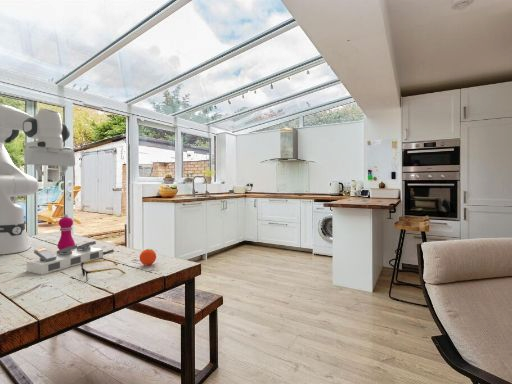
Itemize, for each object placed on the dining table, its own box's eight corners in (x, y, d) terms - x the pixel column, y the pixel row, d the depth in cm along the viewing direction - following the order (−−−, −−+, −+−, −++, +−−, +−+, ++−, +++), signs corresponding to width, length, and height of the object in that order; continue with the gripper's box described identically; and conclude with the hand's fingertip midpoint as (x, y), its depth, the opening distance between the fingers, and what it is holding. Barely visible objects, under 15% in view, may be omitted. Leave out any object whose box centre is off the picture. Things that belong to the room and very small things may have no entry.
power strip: (26, 271, 115) (26, 258, 114) (106, 250, 149) (106, 240, 148) (42, 274, 111) (42, 261, 110) (120, 252, 145) (120, 242, 145)
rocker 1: (33, 252, 117) (34, 249, 116) (43, 250, 120) (44, 247, 120) (46, 261, 114) (47, 258, 113) (56, 259, 117) (56, 256, 117)
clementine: (154, 261, 131) (154, 245, 130) (161, 264, 126) (161, 248, 126) (137, 264, 125) (136, 248, 125) (143, 268, 120) (143, 251, 120)
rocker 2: (57, 254, 125) (56, 251, 125) (65, 252, 128) (65, 249, 128) (69, 249, 122) (68, 246, 122) (77, 248, 125) (76, 244, 125)
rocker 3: (76, 249, 133) (76, 246, 133) (84, 248, 137) (83, 245, 137) (88, 245, 130) (87, 242, 130) (96, 243, 133) (95, 240, 134)
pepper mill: (66, 256, 136) (65, 215, 135) (53, 255, 138) (53, 214, 137) (78, 252, 143) (78, 213, 142) (66, 252, 145) (65, 213, 144)
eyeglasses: (79, 271, 116) (79, 262, 116) (117, 265, 125) (117, 256, 125) (83, 282, 105) (83, 271, 105) (125, 274, 114) (125, 264, 113)
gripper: (69, 148, 139) (69, 176, 140) (21, 142, 120) (22, 175, 121) (77, 147, 137) (78, 176, 137) (30, 142, 118) (31, 175, 118)
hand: (52, 175), depth 129 cm, fingers open, 8 cm apart
